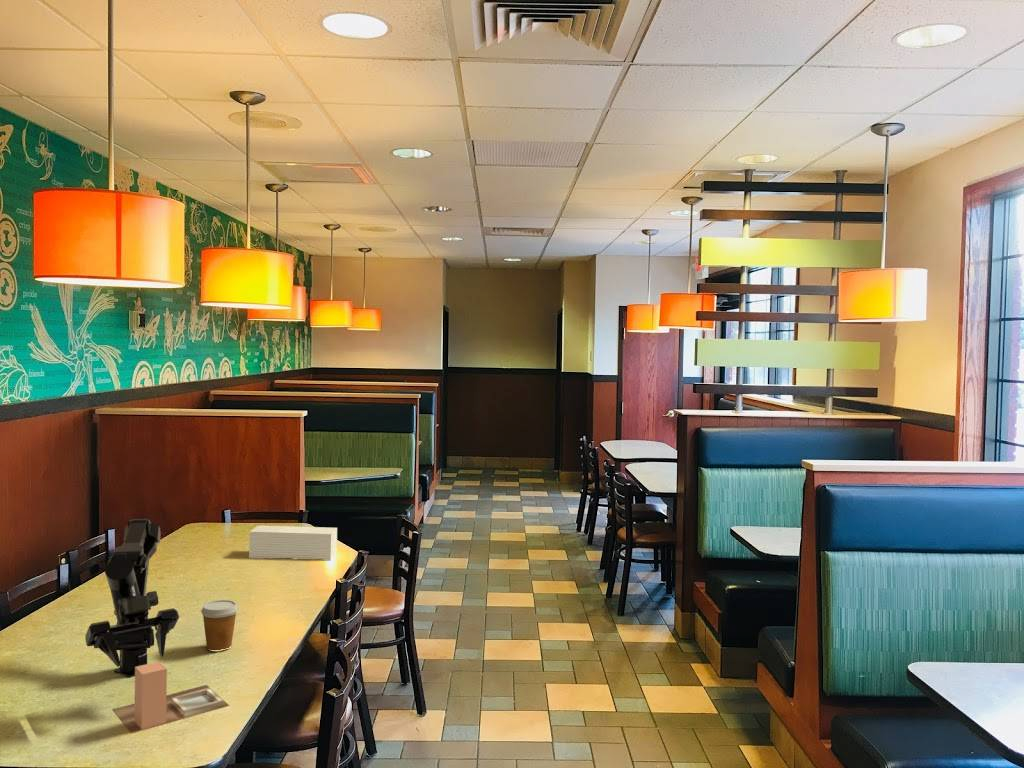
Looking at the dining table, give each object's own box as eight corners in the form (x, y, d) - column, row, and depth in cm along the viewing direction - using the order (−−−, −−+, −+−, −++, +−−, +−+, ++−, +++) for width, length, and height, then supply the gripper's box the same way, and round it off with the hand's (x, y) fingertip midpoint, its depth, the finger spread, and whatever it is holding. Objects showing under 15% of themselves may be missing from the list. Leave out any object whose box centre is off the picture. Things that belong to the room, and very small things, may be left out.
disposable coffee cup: (241, 641, 220) (242, 599, 220) (230, 654, 211) (231, 610, 210) (207, 641, 220) (208, 598, 220) (195, 654, 211) (195, 610, 210)
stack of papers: (336, 554, 318) (337, 527, 317) (330, 561, 307) (331, 533, 306) (257, 551, 317) (258, 525, 317) (248, 558, 307) (249, 531, 306)
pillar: (134, 721, 170) (135, 666, 170) (158, 714, 174) (159, 661, 173) (141, 729, 167) (142, 674, 166) (166, 723, 170) (166, 668, 170)
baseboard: (112, 713, 176) (112, 704, 175) (206, 688, 190) (206, 680, 190) (131, 737, 165) (131, 727, 165) (229, 709, 179) (229, 700, 179)
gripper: (89, 588, 172) (102, 653, 164) (176, 574, 184) (193, 633, 176) (79, 614, 178) (92, 677, 170) (165, 598, 190) (180, 657, 182)
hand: (141, 660), depth 174 cm, fingers open, 9 cm apart
